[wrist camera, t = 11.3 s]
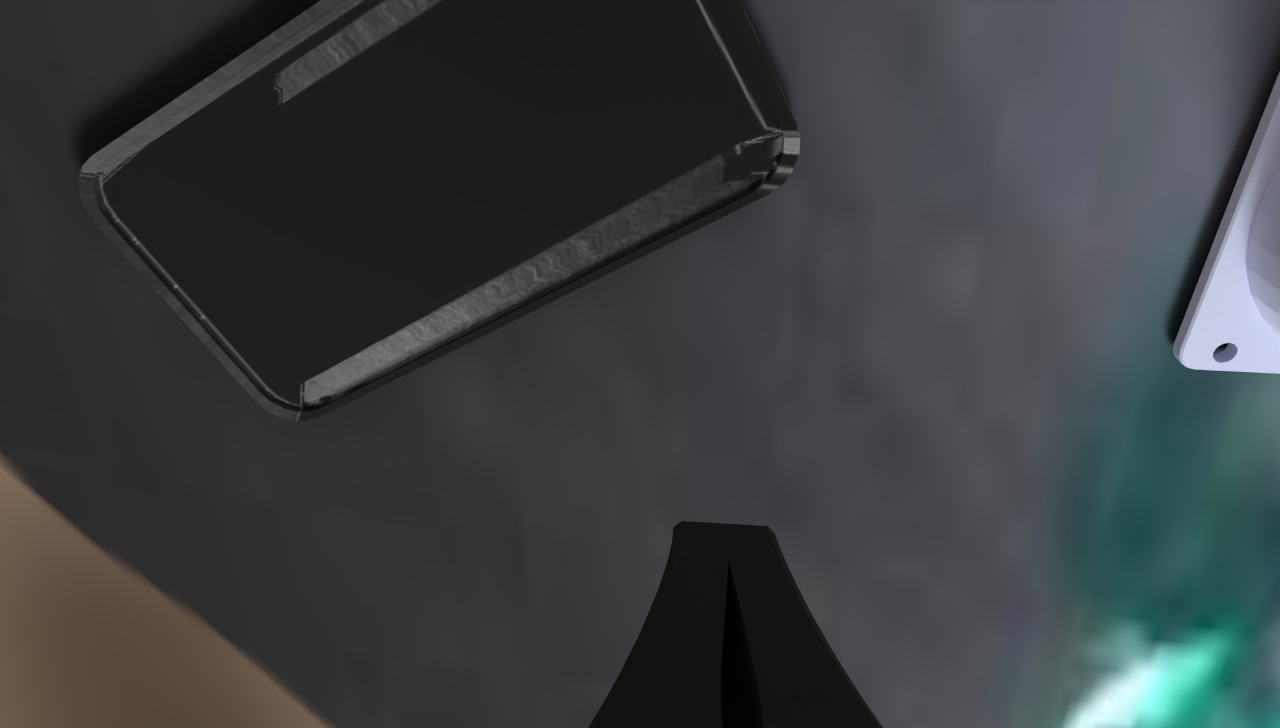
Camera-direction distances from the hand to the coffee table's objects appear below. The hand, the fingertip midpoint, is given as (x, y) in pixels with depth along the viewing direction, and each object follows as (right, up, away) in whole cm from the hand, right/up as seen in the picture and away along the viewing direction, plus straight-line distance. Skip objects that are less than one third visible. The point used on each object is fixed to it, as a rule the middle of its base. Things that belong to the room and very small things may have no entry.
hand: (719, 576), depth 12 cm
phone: (-6, +8, +7) cm, 12 cm away
